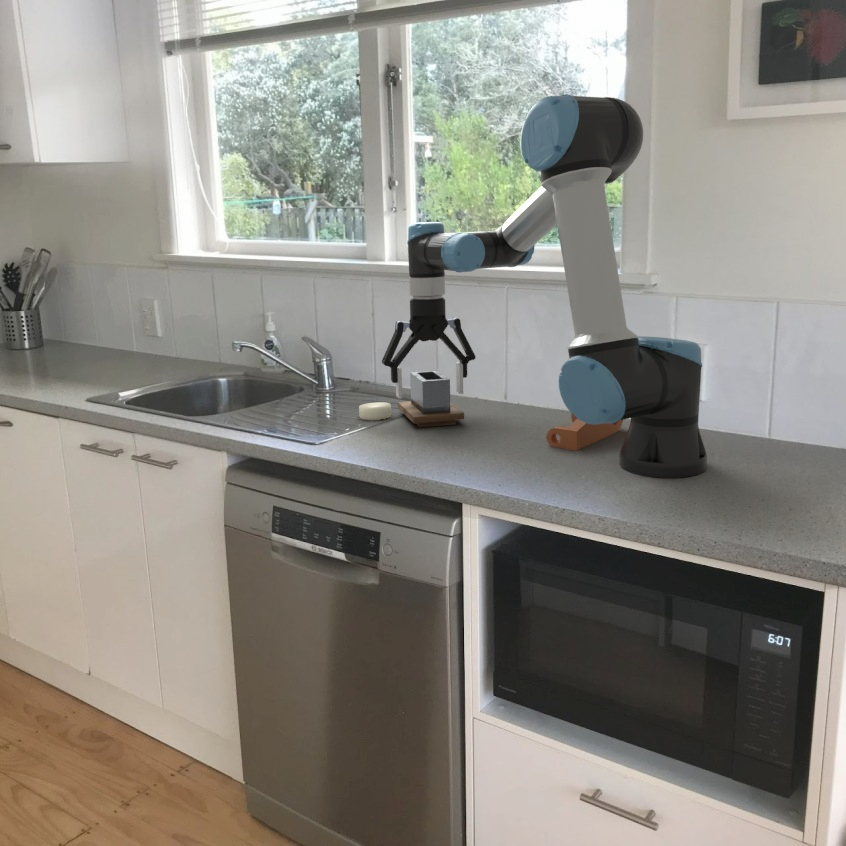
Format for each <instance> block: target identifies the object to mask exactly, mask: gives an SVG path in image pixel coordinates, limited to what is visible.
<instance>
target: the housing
mask: <svg viewBox="0 0 846 846" xmlns="http://www.w3.org/2000/svg"><path fill="white" fill-rule="evenodd" d="M409 378H410V380H409V381H410V401H411V404H413V405H414V406H415V407H416V408H417V409H418V410H419V411H420V412H421V413H423V414H430V413H442V412H451V411H450V402H451V379H450V378H448V376H445V375H444V374H443V373H441V372H440V371H438V370H424V371H410V372H409Z"/></svg>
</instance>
